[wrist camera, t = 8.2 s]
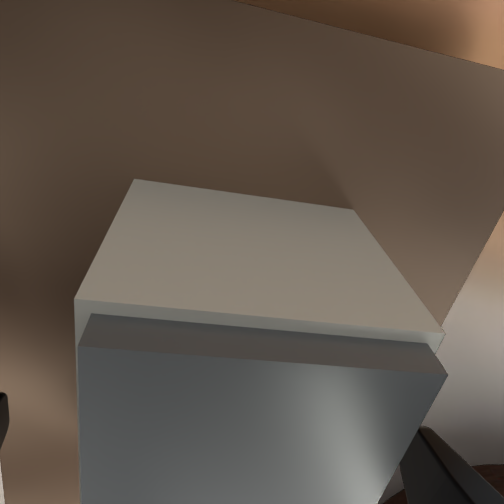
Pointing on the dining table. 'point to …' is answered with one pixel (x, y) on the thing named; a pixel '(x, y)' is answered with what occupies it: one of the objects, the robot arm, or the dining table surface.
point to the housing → (246, 354)
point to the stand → (214, 164)
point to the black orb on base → (495, 475)
